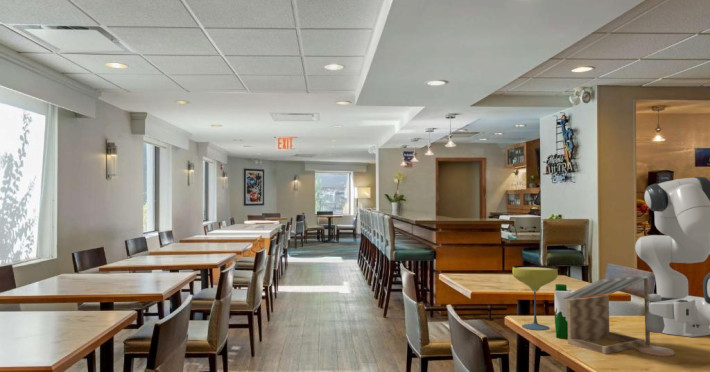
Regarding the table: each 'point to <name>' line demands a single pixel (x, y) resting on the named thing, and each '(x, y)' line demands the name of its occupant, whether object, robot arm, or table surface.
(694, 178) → the robot arm
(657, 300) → the salt shaker
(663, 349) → the terracotta saucer
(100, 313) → the table surface
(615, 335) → the cold frame
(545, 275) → the cocktail glass
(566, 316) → the milk carton
